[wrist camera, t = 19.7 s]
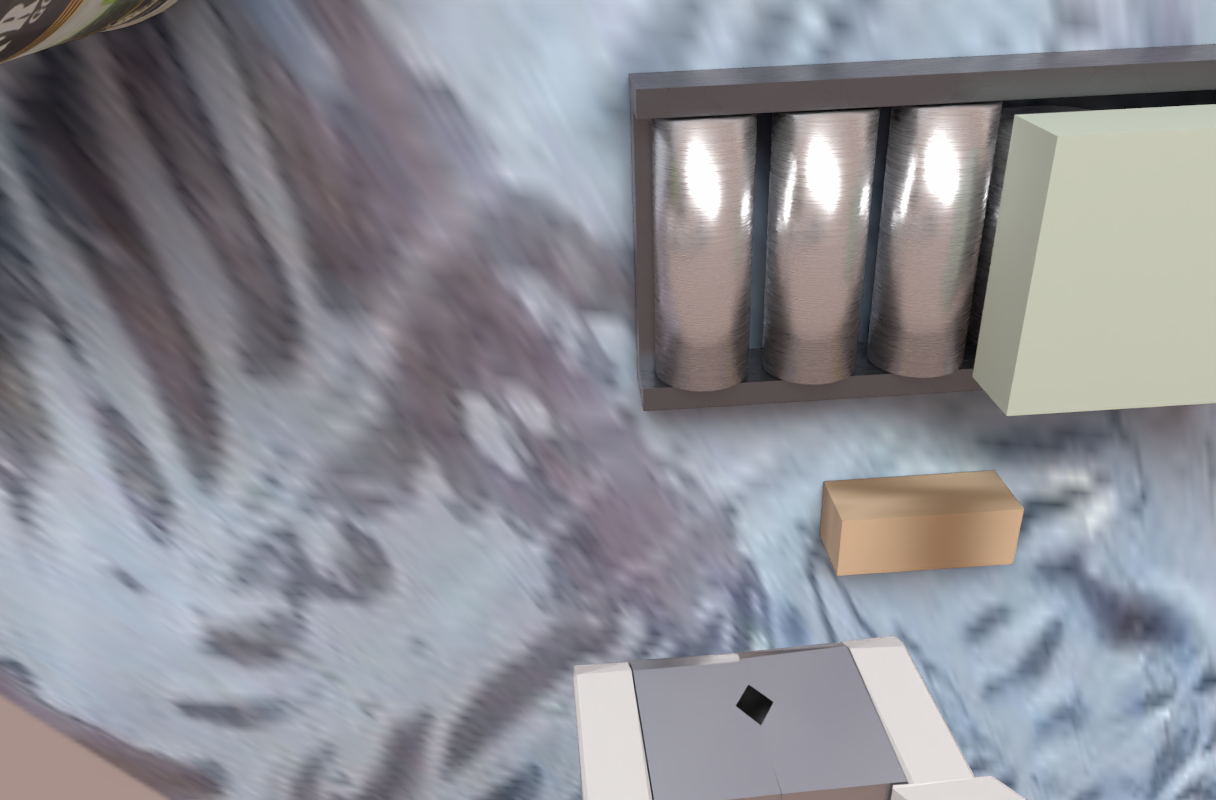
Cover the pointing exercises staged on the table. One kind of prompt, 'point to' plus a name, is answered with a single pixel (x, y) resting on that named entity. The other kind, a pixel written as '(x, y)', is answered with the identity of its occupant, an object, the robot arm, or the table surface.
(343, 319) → the table surface
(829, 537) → the block
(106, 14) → the coffee can
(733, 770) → the robot arm
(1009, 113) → the roller
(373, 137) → the table surface
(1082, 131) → the slab
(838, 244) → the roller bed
